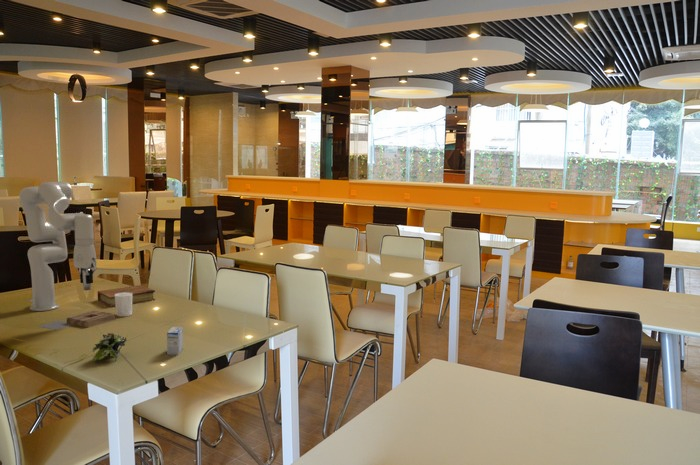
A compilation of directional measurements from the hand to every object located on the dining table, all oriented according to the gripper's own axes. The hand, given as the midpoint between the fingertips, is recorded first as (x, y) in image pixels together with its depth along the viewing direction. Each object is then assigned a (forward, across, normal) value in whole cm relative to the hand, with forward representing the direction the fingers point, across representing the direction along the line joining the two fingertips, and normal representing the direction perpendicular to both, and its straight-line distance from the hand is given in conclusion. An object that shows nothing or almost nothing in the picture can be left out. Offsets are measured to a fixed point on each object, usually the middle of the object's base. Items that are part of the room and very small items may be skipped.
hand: (86, 282), depth 251 cm
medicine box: (+19, +63, -10) cm, 66 cm away
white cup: (+19, +3, +17) cm, 25 cm away
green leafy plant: (+19, +48, -27) cm, 58 cm away
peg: (+3, 0, 0) cm, 3 cm away
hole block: (+18, 0, +1) cm, 18 cm away
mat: (+18, -7, -10) cm, 22 cm away
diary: (+19, -19, +38) cm, 46 cm away
